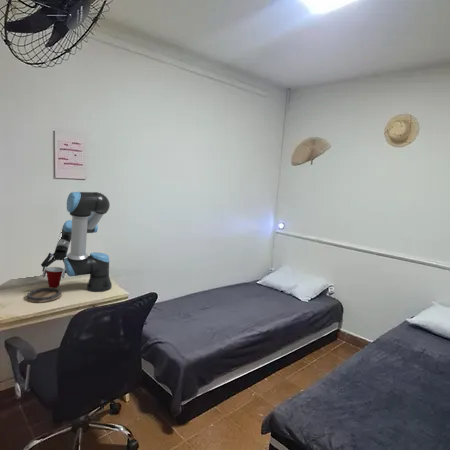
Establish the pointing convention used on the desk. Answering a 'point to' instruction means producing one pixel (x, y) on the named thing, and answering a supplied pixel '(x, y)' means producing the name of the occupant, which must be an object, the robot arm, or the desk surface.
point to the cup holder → (44, 295)
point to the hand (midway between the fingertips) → (53, 276)
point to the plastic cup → (54, 276)
